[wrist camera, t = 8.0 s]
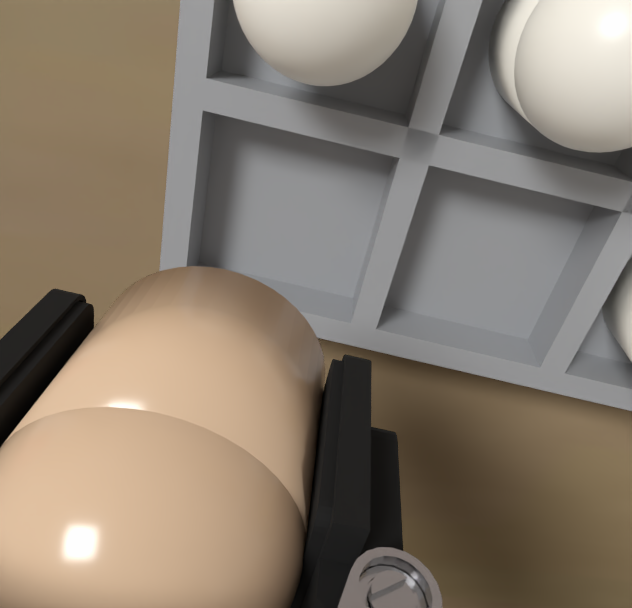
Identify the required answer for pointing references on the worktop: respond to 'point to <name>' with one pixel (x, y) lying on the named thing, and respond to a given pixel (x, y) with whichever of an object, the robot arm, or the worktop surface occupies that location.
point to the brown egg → (168, 454)
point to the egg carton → (418, 176)
